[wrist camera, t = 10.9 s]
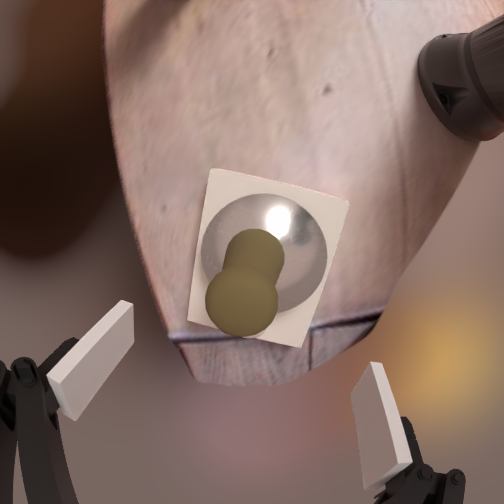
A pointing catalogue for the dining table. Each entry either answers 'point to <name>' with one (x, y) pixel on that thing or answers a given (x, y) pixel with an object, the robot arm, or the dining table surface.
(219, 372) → the dining table surface
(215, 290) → the cork
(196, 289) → the scale base
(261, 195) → the pan
